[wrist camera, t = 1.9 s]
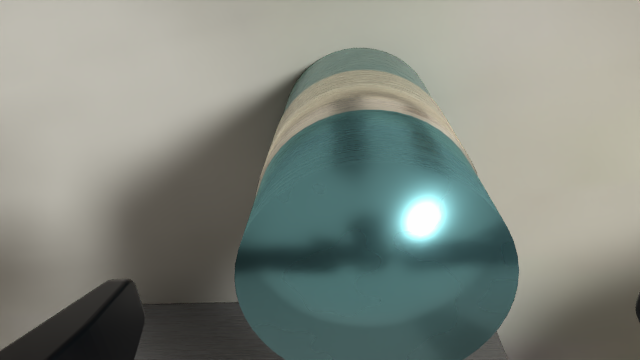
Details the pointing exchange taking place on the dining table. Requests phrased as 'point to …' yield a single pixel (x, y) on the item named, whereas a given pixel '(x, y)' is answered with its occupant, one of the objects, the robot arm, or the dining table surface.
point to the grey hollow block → (224, 335)
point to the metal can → (372, 225)
